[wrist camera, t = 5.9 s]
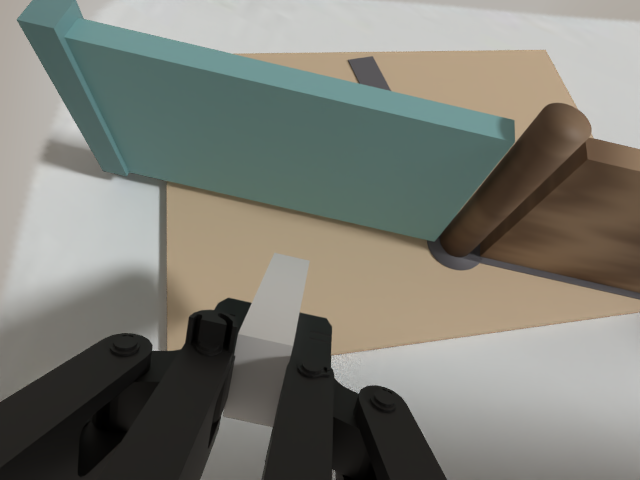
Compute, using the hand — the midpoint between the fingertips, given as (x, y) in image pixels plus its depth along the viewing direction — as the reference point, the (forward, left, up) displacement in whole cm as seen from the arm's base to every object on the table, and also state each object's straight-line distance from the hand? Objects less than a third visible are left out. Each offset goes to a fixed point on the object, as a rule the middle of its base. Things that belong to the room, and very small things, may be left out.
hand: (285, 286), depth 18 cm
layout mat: (-13, -2, -6) cm, 14 cm away
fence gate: (-5, -6, -5) cm, 9 cm away
